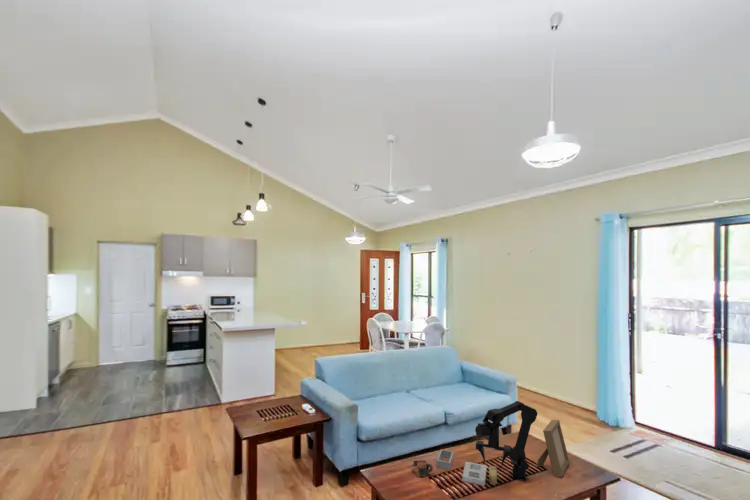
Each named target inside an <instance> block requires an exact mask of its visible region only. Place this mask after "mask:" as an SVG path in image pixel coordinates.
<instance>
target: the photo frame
mask: <svg viewBox="0 0 750 500" xmlns="http://www.w3.org/2000/svg"><path fill="white" fill-rule="evenodd" d="M542 432H543V437H544V440H545V445H546V447H545V449H543V452H542V453H541V455H540V456H539V457H538V459H537V462H536V467H537V468H540V467H543V466H544V465H545V462H546V461H547V459H548V457H549V462H550V465H551V469H552V473H553V477H557V478H558V477H559V478H563V475H564V474H565V472H566V471H567V468H568V466H569V465H570V459H569V454H568V450H567V447H566V443H565V439H564V434H563V429H562V427H561V422H560V419H551V420H550V421H549V422H548V424H547V425H546V427H545V428H544V429H543V430H542Z"/></svg>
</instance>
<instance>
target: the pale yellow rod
mask: <svg viewBox="0 0 750 500" xmlns="http://www.w3.org/2000/svg"><path fill="white" fill-rule="evenodd" d="M488 473H489V474H488V477H489V478H488V482H489V484H490V485H494V486H495V485H497V483H498V481H497V480H498V468H497V467H496V466H495V465H490V466H489V468H488Z"/></svg>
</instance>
